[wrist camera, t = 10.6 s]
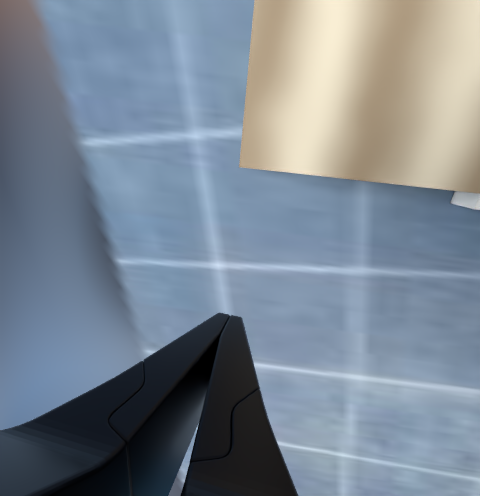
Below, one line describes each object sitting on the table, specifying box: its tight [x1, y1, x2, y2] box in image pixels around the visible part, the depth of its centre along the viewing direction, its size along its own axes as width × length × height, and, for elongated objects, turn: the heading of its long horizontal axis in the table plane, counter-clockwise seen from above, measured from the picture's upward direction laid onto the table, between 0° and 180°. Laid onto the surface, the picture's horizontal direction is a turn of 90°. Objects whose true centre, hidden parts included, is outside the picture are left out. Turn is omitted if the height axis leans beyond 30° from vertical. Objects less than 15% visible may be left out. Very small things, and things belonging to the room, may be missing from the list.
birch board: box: [239, 0, 480, 194], centre depth 14 cm, size 14×14×4 cm
